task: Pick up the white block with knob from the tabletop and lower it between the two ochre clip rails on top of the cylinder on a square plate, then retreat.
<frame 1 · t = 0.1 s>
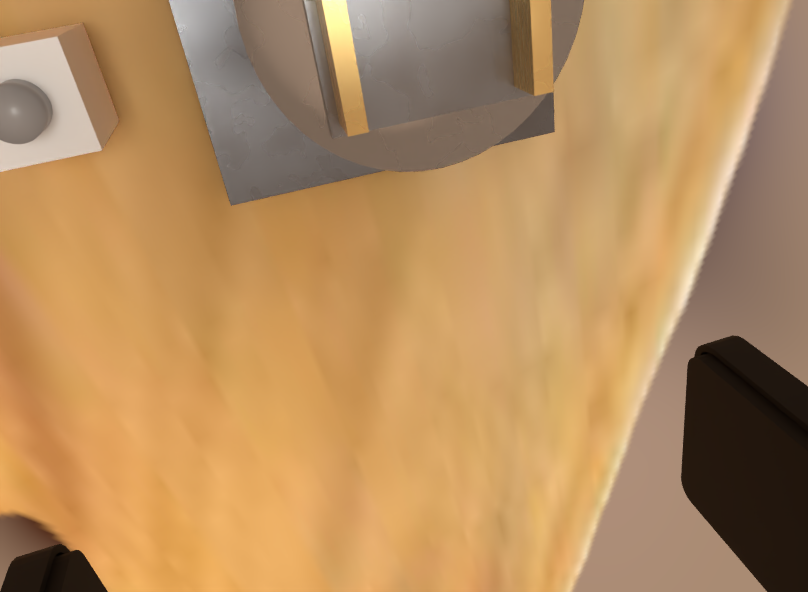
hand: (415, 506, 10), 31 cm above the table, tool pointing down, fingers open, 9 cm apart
white block with knob: (52, 83, 33), on the table
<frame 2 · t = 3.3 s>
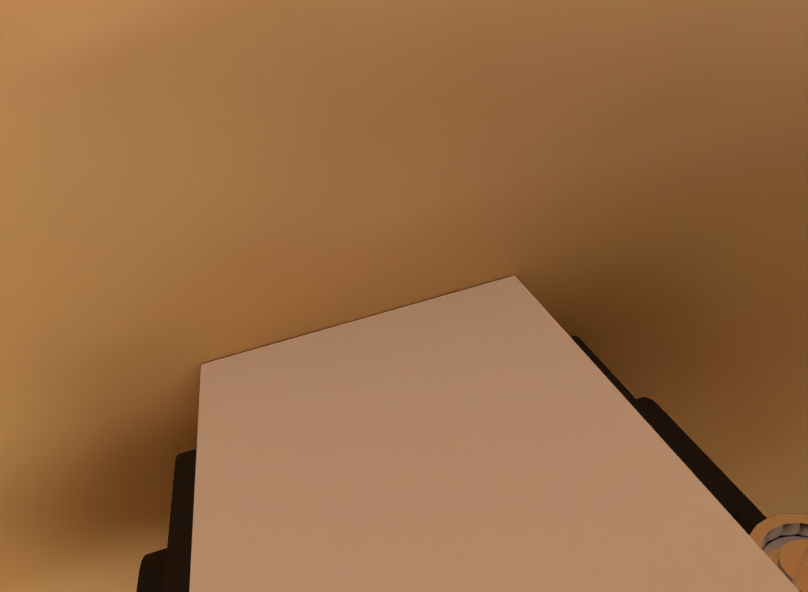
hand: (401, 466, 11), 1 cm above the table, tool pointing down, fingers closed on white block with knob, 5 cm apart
white block with knob: (392, 438, 11), on the table, touching gripper
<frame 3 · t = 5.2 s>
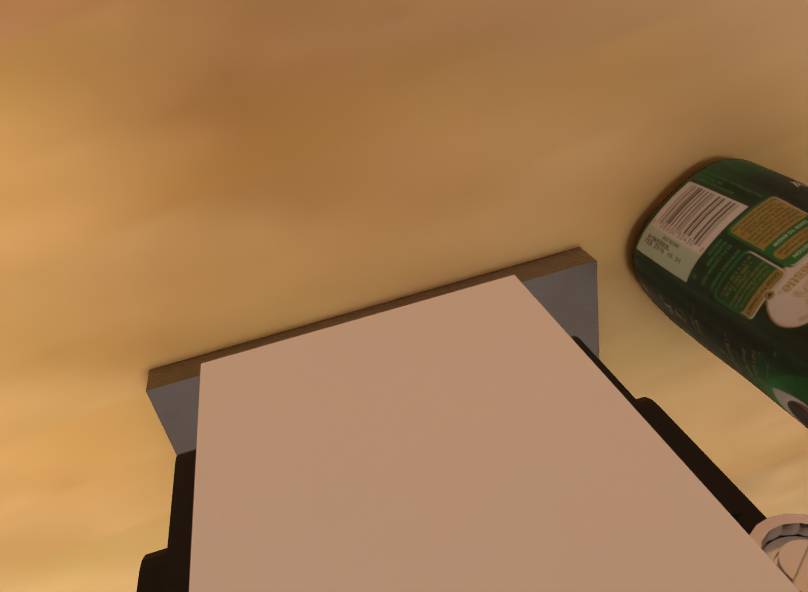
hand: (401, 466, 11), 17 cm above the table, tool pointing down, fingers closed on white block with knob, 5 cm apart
cylinder on square plate: (412, 466, 34), on the table
coffee jar: (708, 244, 32), on the table
white block with knob: (392, 437, 11), point 16 cm above the table, touching gripper
when the fingers open (14 cm above the table, at t = 7.4 s): white block with knob stays where it is, resting on cylinder on square plate.
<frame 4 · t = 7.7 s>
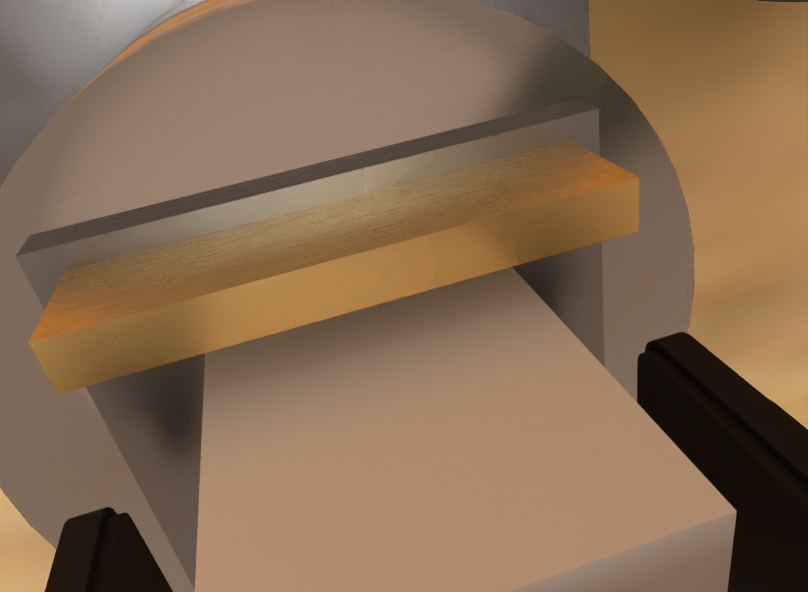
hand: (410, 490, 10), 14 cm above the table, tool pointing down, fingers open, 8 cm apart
cylinder on square plate: (307, 194, 23), on the table
white block with knob: (384, 405, 12), point 12 cm above the table, touching cylinder on square plate
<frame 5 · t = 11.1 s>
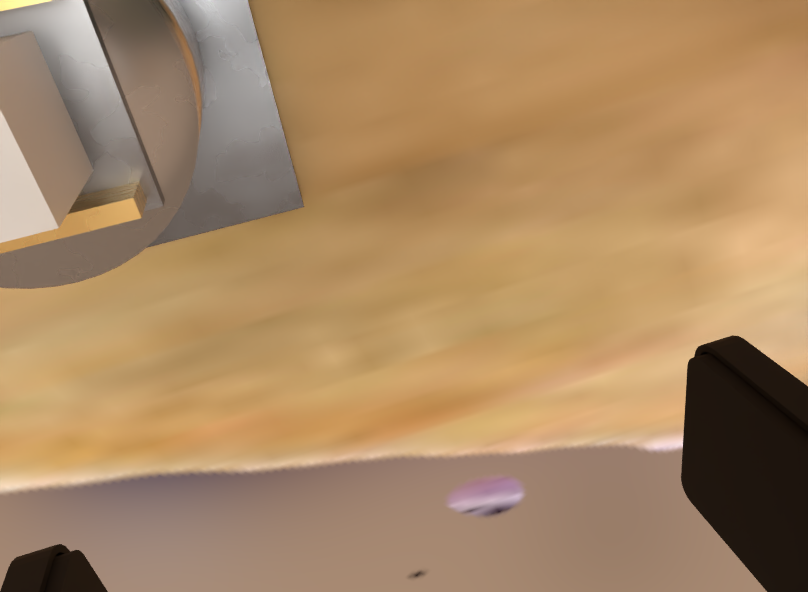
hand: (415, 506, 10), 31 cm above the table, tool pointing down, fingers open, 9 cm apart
cylinder on square plate: (63, 68, 33), on the table
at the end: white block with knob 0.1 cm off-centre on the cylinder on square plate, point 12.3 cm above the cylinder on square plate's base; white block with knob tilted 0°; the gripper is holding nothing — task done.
